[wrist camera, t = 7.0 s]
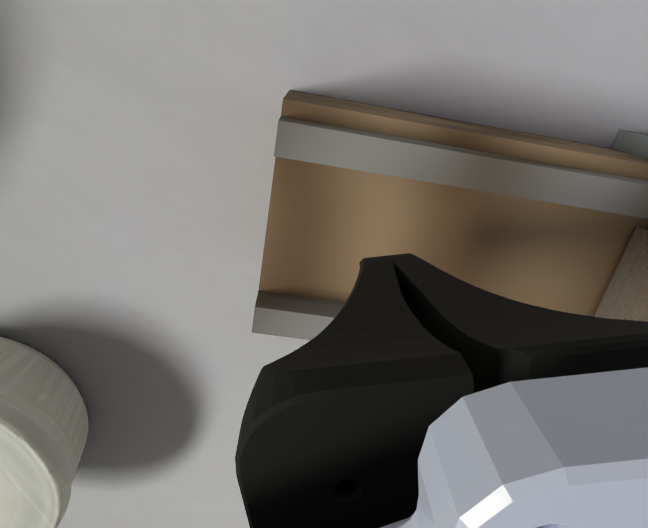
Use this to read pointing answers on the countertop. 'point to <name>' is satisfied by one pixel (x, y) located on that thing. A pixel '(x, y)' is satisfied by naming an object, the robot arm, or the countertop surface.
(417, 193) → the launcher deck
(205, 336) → the countertop surface
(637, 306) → the plunger
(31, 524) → the ramekin
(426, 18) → the countertop surface
